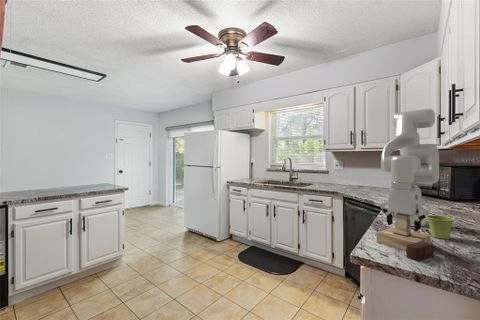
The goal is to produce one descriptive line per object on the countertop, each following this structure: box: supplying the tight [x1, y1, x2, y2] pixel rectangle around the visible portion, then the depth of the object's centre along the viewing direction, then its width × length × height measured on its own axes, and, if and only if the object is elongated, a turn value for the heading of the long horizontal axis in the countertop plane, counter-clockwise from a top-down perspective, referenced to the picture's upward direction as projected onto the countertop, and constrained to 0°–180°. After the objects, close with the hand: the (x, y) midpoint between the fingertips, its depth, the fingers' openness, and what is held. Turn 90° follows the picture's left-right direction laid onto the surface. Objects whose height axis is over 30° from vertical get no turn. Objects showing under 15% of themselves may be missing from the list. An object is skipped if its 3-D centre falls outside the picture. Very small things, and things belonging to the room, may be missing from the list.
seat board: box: [376, 226, 432, 251], centre depth 93 cm, size 14×14×4 cm
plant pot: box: [425, 214, 455, 240], centre depth 101 cm, size 9×9×9 cm
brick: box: [405, 241, 435, 262], centre depth 81 cm, size 11×4×5 cm, turn 116°
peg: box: [394, 213, 412, 237], centre depth 93 cm, size 4×4×12 cm
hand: (403, 227), depth 94 cm, fingers open, 9 cm apart
